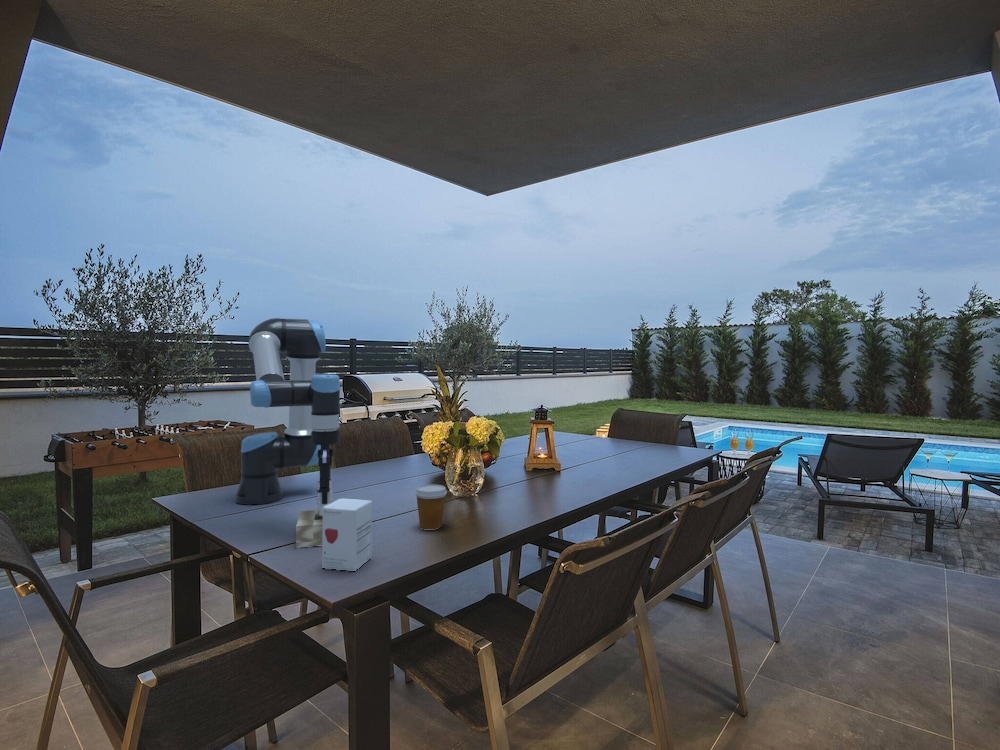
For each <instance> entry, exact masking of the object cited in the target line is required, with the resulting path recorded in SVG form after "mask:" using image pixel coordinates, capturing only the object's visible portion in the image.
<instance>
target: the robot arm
mask: <svg viewBox="0 0 1000 750" xmlns="http://www.w3.org/2000/svg"><path fill="white" fill-rule="evenodd" d="M326 343H327V342H326V334H325V331H324V326H323V324H322V323H321V322H320V321H318V320H315V319H313V320H312V319H308V318H307V319H306V318H305V319H303V318H302V319H301V318H280V317H275V318H274V317H273V318H268V319H266V320H264V321H262V322H260V323H259V324H257V325H256V326H255V327H254V328H253V329H252V331H251V332H250V334H249V337H248V347H249V348H248V349H249V350H250V352H251V353H252V354H253V362H254V364H253V365H254V371H255V378H256V379H255V380H252V381H251V382H250V386H249V387H250V390H249V391H250V393H249V394H250V395H249V396H250V397H249V398H250V405H251V406H252V407H255V408H266V409H267V408H278V407H279V408H280V407H288V426H287V427H286V429H284V432H283V435H280V436H279V433H277V432H275V431H270V432H269V431H268V432H262V433H261V432H260V433H255V434H252V435H249V436H246V437H244V438H243V439H242V440H241V448H240V453H241V460H240V461H241V465H240V466H241V472H240V473H241V474H240V476H241V478H240V482H239V485H238V488H237V490H236V494H235V503H236V504H238V503H239V504H238V505H244V504H247V505H248V506H250V505H252V504H257V505H264V504H265V503H266V504H271V503H275V502H278V501H280V500H282V498H283V496H284V495H283V494H284V493H283V492H284V491H283V488H282V486H281V482H280V481H279V477H278V469H287V468H300V467H301V468H307V467H310V466H315V465H317V464H318V467H319V481H320V488H319V490H318V489H316V494H318V493H320V507H319V516H323V507H324V506H326V505H328V504H330V488H329V482H330V480H331V481H332V479H331V467H332V464H333V454H334V449H333V448H331V445H337V444H339V443H340V441H341V440H340V431H341V430H339V428H340V422H341V421H342V420H343V418H342V417H340V409H341V408H340V403H341V400H340V399H341V398H340V392H341V391H340V390H341V383H340V376H339V375H338V374H316V364H317V361H319V360H320V359H321V354H323V353H324V354H325V352H326V347H327V345H326ZM280 353H285V358H286V359H287V360H288V361H289V362H290V363H289V380H287V379H286V380H285V377H284V372H283V365H282V362H281V361H282V360H281V356H280ZM247 505H246V506H247ZM252 506H253V505H252Z"/></svg>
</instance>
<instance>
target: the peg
mask: <svg viewBox="0 0 1000 750" xmlns="http://www.w3.org/2000/svg"><path fill="white" fill-rule="evenodd" d="M333 485H334V481H333V480H332V479H331V480H330V482H329V488H330V503H333V502H334V498H333V497H334V496H333V495H334V494H333V491H334V489H333V487H334V486H333ZM319 488H320V480H318V481H317V490H319ZM319 507H320V493H317V510H318V520H320V519H323V516H319Z"/></svg>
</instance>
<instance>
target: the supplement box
mask: <svg viewBox="0 0 1000 750" xmlns="http://www.w3.org/2000/svg"><path fill="white" fill-rule="evenodd" d="M372 521H373V500H367V499H358V498H357V499H356V498H355V499H354V498H342V497H341V498H339V499H336V500H335V501H334V500H333V503H330V504H328V505H326V506H324V507H323V522H322V546H321V548H322V549H321V550H322V552H321V569H322V568H325V569H324V570H331V569H336V570H335V571H340V570H349V571H356V570H357V569H358V570H360V569H361V568H362V567H363V566H364V565H365V564H364V563H366V562H367V561H368V560H369V559H370V558H371V559H372V539H373V537H372V535H373V534H372V532H373V531H372V530H373V528H372V526H373V525H372V524H373V522H372ZM371 559H370V560H371ZM370 560H369V561H370ZM369 561H368V562H369ZM368 562H367V563H368ZM367 563H366V564H367ZM363 564H364V565H363ZM362 565H363V566H362ZM361 566H362V567H361ZM360 567H361V568H360ZM359 568H360V569H359ZM358 570H357V571H358ZM357 571H356V572H357Z"/></svg>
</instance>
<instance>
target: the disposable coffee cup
mask: <svg viewBox="0 0 1000 750" xmlns="http://www.w3.org/2000/svg"><path fill="white" fill-rule="evenodd" d="M447 493H448V490H447V489H446V487H445V485H441V484H423V485H419V486H417V487H416V490H415V492H414V494H415V496H416V502H417V503H416V505H417V510H418V511H417V512H418V520H419V522H418V523H419V528H422V529H436V528H439V527H441V528H442V523H443V516H444V510H445V501H446V496H447ZM422 529H421V530H422Z"/></svg>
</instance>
